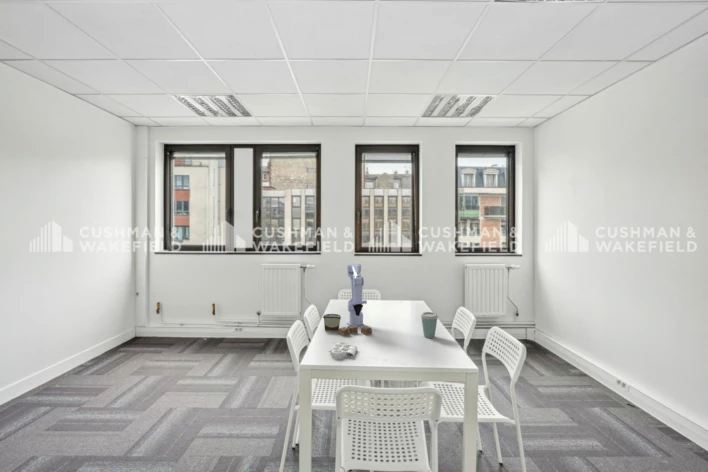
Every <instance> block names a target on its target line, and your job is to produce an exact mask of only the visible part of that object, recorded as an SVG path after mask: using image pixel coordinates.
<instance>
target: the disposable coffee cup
mask: <svg viewBox="0 0 708 472" xmlns="http://www.w3.org/2000/svg"><path fill="white" fill-rule="evenodd" d="M420 319H421V324H422V331H423V336H425V337H424V338H426V339H434V338H435V335H436V329H437V323H438V315H437V313H436V312H432V311H425V312H422V313H421V314H420Z"/></svg>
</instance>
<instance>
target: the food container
mask: <svg viewBox="0 0 708 472" xmlns="http://www.w3.org/2000/svg"><path fill="white" fill-rule="evenodd" d="M322 318H323V322H324V323H323V324H324V331H326V332H327V331H329V332H330V331H331V332H339V328H340V323H341V319H342V317H341V315H340V314H337V313H328V314H324V315H323V317H322Z"/></svg>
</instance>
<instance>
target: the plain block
mask: <svg viewBox="0 0 708 472" xmlns="http://www.w3.org/2000/svg"><path fill="white" fill-rule="evenodd" d="M346 328H349V329H350V334H351V335H354V334H355V335H356V334H358V332H359V326H354V325H352V326H351V325H348V326H346Z"/></svg>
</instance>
